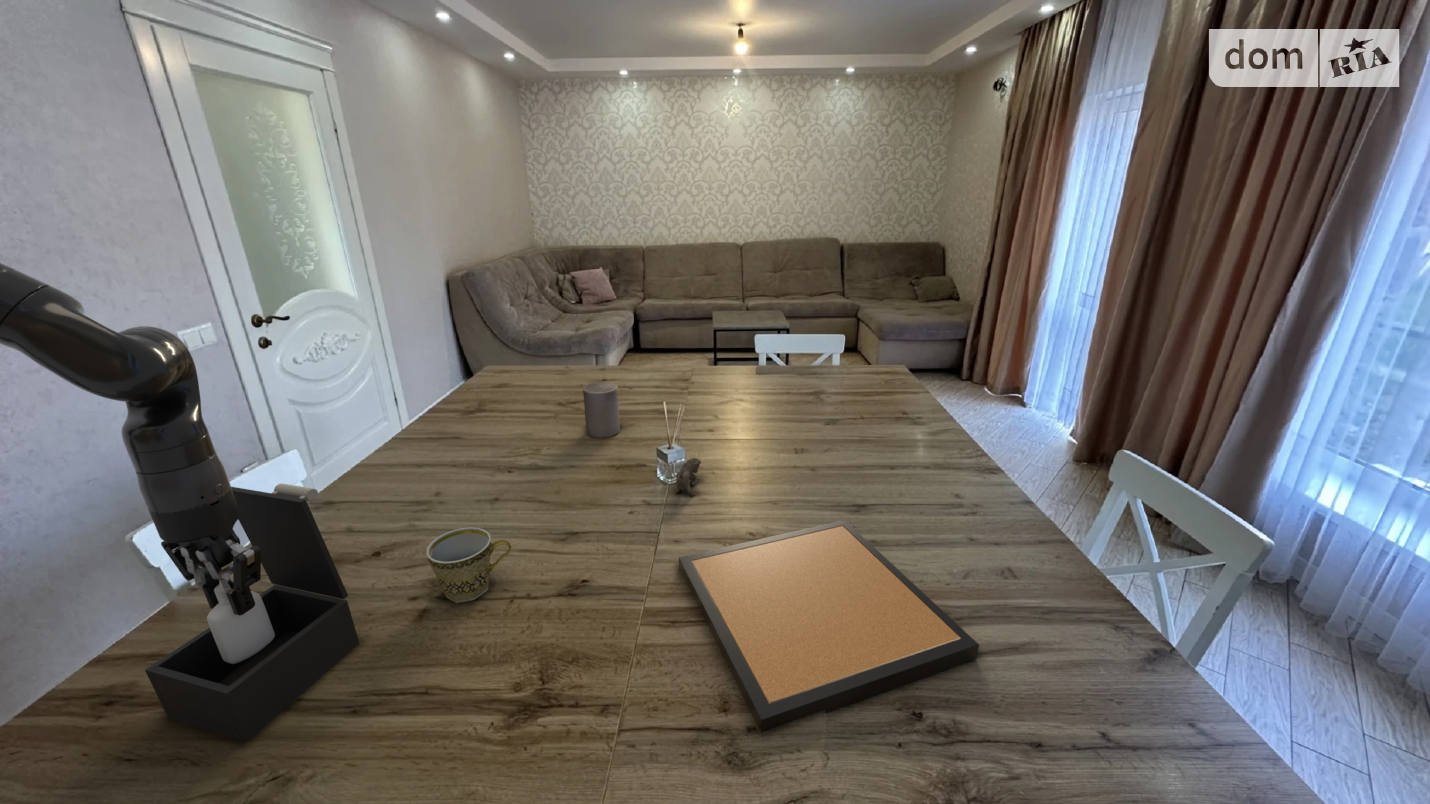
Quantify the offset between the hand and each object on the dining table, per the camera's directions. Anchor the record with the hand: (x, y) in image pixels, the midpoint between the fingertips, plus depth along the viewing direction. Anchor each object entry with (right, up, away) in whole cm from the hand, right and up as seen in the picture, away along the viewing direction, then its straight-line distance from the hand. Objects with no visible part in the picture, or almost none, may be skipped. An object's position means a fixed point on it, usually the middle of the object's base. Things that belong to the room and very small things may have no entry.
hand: (233, 607), depth 73 cm
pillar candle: (+31, +18, +88) cm, 95 cm away
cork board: (+80, -8, +19) cm, 82 cm away
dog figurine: (+57, +7, +58) cm, 82 cm away
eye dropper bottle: (0, -7, +3) cm, 7 cm away
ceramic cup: (+22, -6, +24) cm, 33 cm away
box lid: (+2, +7, +6) cm, 9 cm away
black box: (0, -13, +6) cm, 14 cm away
